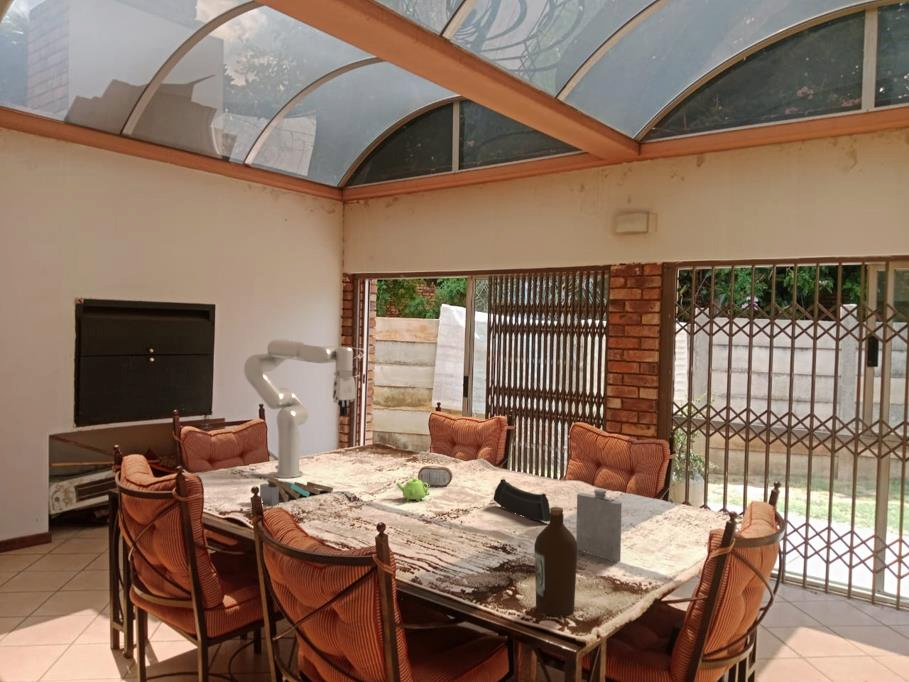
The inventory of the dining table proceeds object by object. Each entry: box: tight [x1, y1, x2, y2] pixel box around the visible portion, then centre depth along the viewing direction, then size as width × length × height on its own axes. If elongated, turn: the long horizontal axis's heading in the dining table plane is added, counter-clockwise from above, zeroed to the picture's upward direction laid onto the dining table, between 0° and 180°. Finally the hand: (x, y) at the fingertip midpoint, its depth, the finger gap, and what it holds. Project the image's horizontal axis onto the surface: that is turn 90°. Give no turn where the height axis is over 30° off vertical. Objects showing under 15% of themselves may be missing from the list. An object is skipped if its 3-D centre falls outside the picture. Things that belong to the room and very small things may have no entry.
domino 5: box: [306, 481, 334, 493], centre depth 289 cm, size 2×5×10 cm
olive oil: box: [533, 506, 579, 617], centre depth 172 cm, size 11×11×25 cm
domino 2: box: [278, 480, 300, 500], centre depth 277 cm, size 2×5×10 cm
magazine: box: [492, 478, 551, 523], centre depth 259 cm, size 17×3×30 cm
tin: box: [417, 465, 453, 487], centre depth 305 cm, size 15×3×8 cm, turn 84°
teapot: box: [396, 477, 430, 502], centre depth 280 cm, size 11×12×8 cm
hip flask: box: [575, 488, 623, 562], centre depth 215 cm, size 16×4×20 cm, turn 41°
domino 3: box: [284, 481, 311, 498], centre depth 280 cm, size 2×5×10 cm
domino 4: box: [293, 481, 321, 495], centre depth 284 cm, size 2×5×10 cm
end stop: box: [259, 482, 280, 507], centre depth 270 cm, size 8×3×7 cm, turn 49°
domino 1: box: [266, 476, 289, 503], centre depth 273 cm, size 2×5×10 cm
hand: (343, 415), depth 314 cm, fingers closed
